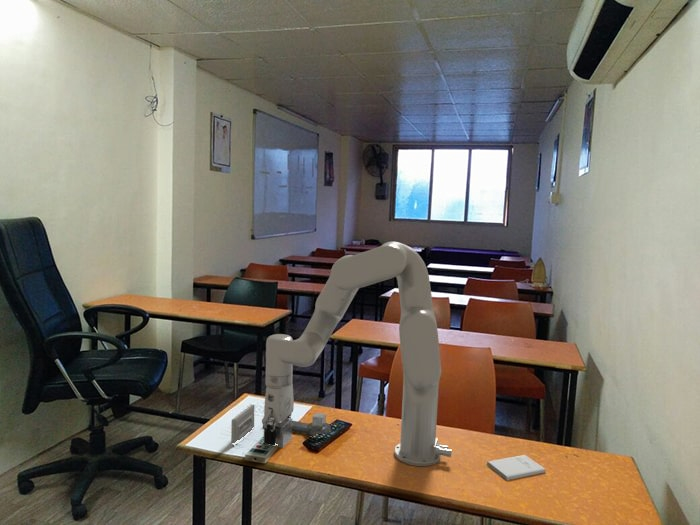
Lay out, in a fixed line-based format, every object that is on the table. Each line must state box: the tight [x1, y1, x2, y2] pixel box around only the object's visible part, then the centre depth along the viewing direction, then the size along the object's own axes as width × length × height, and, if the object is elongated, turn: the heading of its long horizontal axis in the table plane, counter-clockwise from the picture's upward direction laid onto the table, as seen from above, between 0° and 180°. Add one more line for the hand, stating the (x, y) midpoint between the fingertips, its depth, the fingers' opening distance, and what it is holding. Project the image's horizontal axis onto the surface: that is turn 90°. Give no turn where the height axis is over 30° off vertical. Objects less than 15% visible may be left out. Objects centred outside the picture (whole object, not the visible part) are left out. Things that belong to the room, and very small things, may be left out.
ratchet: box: [292, 412, 332, 437], centre depth 149 cm, size 20×7×6 cm, turn 72°
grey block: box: [269, 418, 293, 449], centre depth 141 cm, size 6×6×6 cm
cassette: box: [230, 404, 255, 444], centre depth 143 cm, size 12×2×8 cm, turn 163°
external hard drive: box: [486, 454, 546, 481], centre depth 131 cm, size 2×8×12 cm
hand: (277, 436), depth 141 cm, fingers open, 9 cm apart
